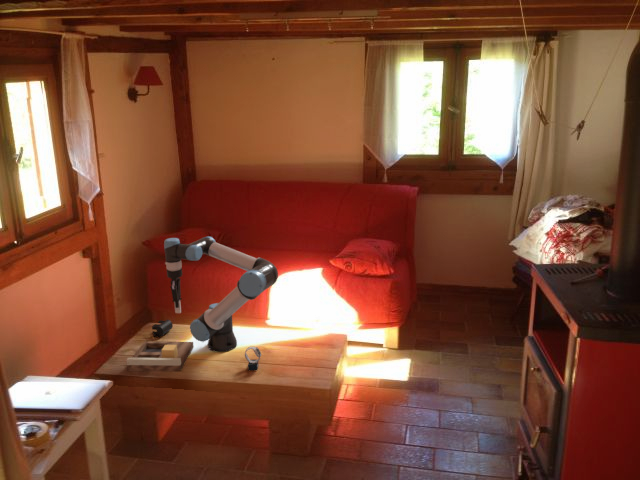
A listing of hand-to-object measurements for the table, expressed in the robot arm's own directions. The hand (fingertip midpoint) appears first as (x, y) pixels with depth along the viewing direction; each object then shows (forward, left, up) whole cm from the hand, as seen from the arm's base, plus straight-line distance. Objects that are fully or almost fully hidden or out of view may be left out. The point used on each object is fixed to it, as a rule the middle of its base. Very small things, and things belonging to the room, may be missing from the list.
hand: (178, 312), depth 302 cm
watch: (-41, +18, -22) cm, 49 cm away
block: (+1, +15, -18) cm, 24 cm away
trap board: (+8, +9, -21) cm, 24 cm away
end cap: (+16, -20, -22) cm, 33 cm away
